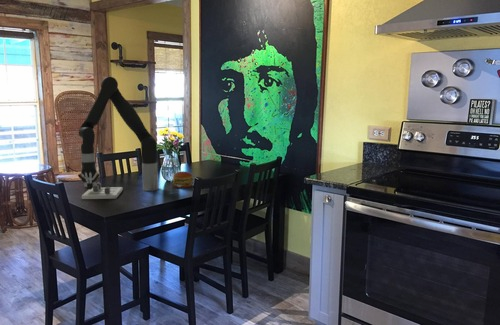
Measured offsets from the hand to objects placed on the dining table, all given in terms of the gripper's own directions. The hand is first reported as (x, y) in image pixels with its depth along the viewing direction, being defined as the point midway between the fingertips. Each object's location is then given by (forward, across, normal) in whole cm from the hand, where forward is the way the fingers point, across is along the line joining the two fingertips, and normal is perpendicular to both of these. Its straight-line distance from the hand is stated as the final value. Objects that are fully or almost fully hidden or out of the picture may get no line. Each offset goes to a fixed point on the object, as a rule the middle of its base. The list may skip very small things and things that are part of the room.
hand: (90, 189), depth 248 cm
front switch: (+1, -11, +6) cm, 13 cm away
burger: (+4, -54, -17) cm, 57 cm away
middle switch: (+1, -3, 0) cm, 4 cm away
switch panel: (+3, -7, 0) cm, 8 cm away
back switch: (+1, -3, -6) cm, 7 cm away
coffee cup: (+4, +6, -23) cm, 24 cm away
